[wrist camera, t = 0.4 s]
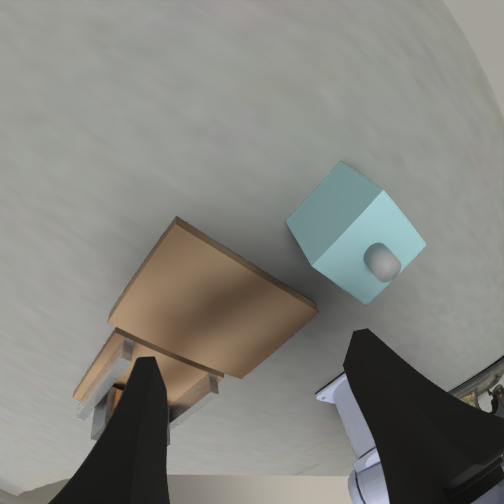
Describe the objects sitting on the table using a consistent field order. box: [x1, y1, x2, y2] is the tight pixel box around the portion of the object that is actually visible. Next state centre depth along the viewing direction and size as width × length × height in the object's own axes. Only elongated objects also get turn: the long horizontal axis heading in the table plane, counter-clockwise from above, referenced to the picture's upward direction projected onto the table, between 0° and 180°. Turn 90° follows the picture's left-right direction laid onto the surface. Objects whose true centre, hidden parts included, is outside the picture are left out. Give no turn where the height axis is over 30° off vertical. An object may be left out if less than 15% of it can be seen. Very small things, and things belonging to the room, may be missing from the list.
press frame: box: [73, 216, 319, 430], centre depth 22 cm, size 12×22×3 cm, turn 139°
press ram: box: [91, 386, 170, 446], centre depth 23 cm, size 6×5×4 cm
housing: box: [285, 161, 427, 306], centre depth 17 cm, size 5×5×6 cm
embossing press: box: [448, 358, 504, 467], centre depth 31 cm, size 11×24×30 cm, turn 102°
